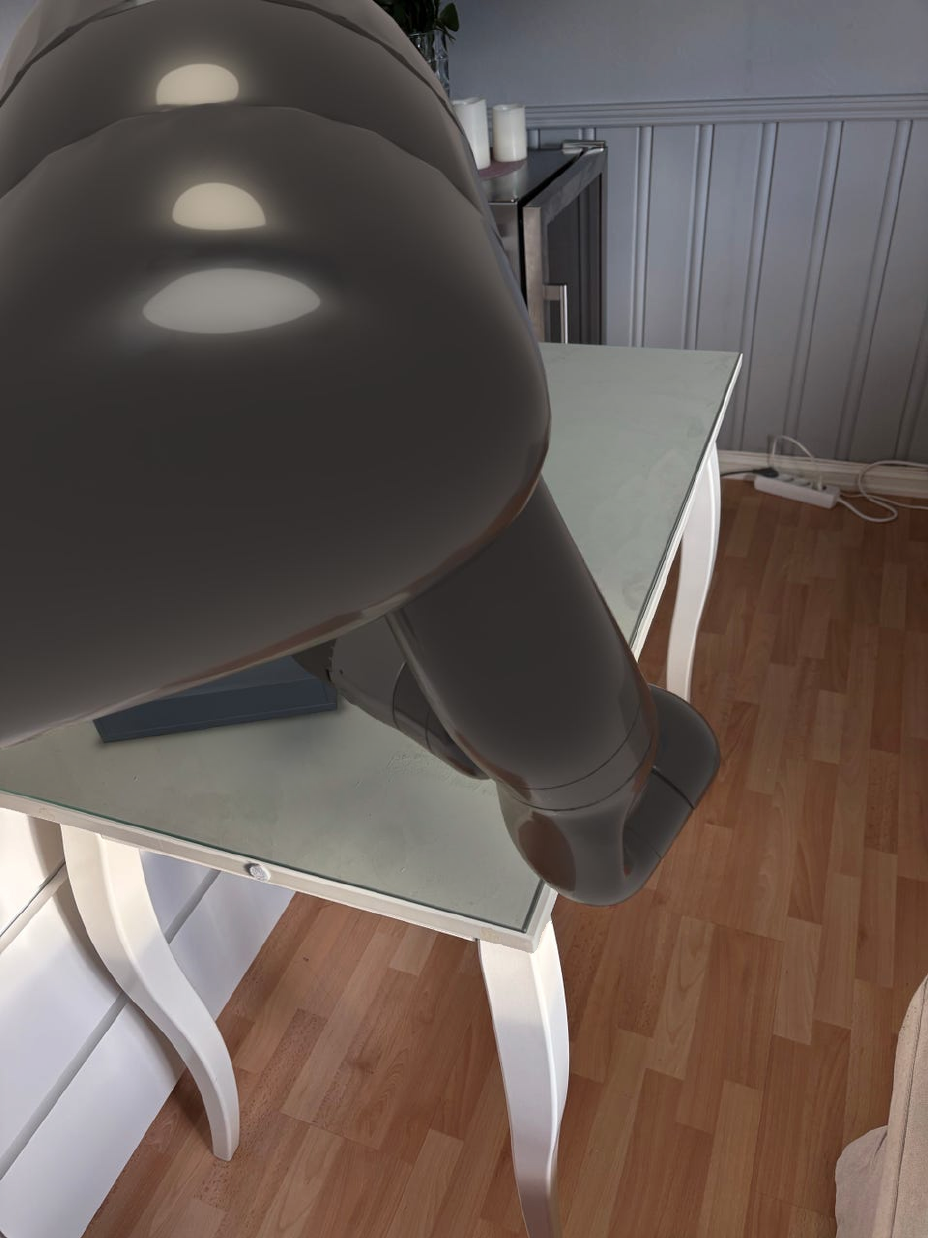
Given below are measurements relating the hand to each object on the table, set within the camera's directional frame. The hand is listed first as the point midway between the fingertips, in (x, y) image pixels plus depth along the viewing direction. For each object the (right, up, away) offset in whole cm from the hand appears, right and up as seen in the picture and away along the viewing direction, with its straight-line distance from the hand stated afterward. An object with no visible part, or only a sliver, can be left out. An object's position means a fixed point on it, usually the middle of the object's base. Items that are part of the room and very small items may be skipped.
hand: (228, 546), depth 63 cm
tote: (-5, -8, +18) cm, 21 cm away
